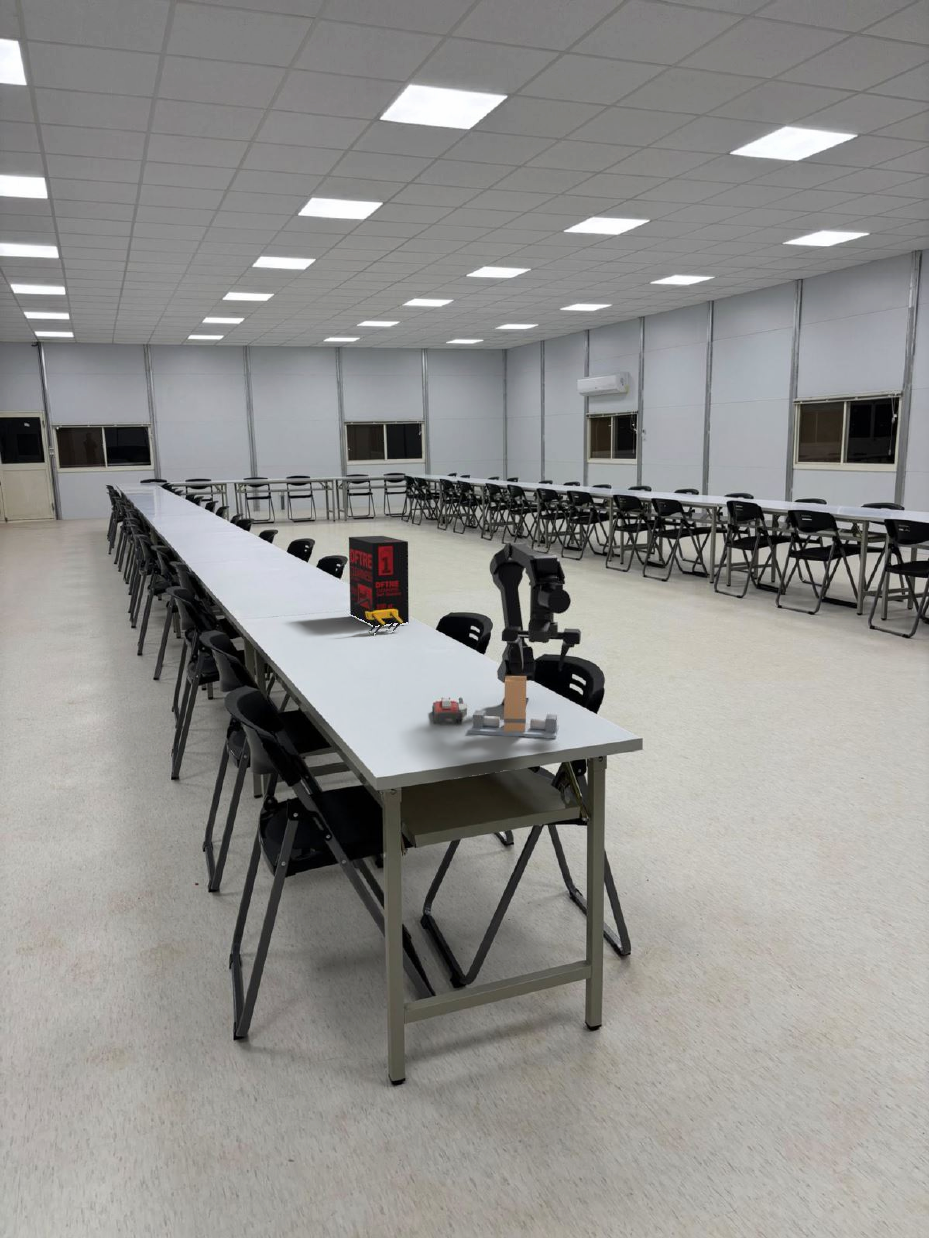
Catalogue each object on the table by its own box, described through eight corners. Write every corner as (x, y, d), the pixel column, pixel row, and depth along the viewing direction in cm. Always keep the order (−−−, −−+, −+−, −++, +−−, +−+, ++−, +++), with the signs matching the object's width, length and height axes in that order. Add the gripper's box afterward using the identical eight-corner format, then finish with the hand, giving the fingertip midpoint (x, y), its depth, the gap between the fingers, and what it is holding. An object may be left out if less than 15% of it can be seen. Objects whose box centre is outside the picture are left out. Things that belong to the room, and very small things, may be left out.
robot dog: (351, 634, 321) (351, 598, 318) (396, 629, 329) (396, 594, 327) (358, 637, 316) (357, 600, 313) (403, 632, 325) (402, 596, 322)
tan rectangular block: (504, 724, 212) (505, 675, 210) (525, 724, 212) (526, 676, 210) (503, 730, 207) (504, 681, 205) (525, 731, 207) (526, 681, 205)
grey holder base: (476, 723, 215) (476, 707, 215) (558, 728, 212) (558, 712, 211) (470, 733, 208) (470, 717, 207) (555, 738, 204) (556, 722, 203)
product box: (350, 616, 355) (348, 537, 349) (383, 613, 362) (382, 535, 356) (373, 628, 332) (372, 543, 326) (408, 624, 338) (408, 541, 332)
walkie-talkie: (469, 726, 214) (464, 703, 234) (469, 709, 213) (464, 687, 233) (433, 727, 214) (431, 704, 233) (433, 709, 213) (431, 687, 232)
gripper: (498, 611, 206) (497, 675, 209) (579, 614, 203) (577, 679, 206) (505, 603, 217) (504, 665, 220) (581, 605, 213) (580, 668, 216)
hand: (540, 669), depth 215 cm, fingers open, 9 cm apart
